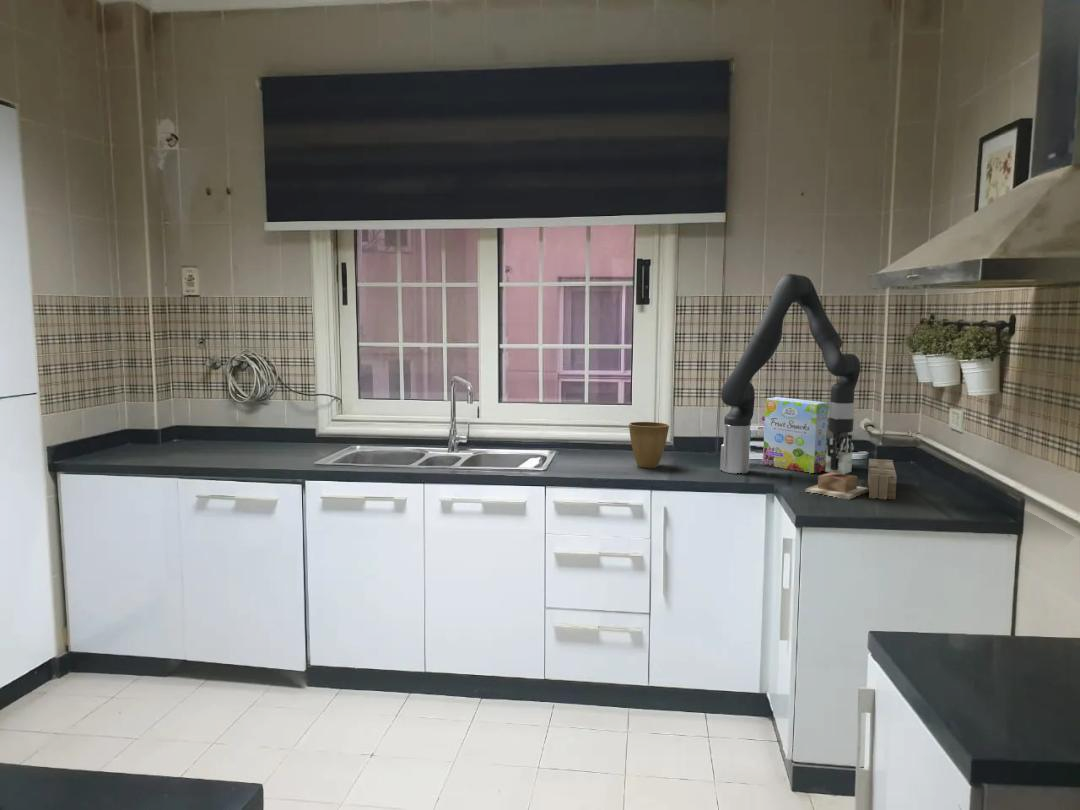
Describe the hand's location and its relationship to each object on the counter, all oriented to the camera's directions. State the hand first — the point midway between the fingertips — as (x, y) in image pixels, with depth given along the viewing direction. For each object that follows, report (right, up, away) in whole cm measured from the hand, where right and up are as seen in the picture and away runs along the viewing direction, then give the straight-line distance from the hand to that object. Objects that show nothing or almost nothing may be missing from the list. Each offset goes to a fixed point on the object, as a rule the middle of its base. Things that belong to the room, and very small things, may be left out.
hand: (838, 468), depth 252 cm
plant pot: (-56, -3, +41) cm, 69 cm away
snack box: (-2, -4, +40) cm, 40 cm away
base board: (0, -8, +1) cm, 8 cm away
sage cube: (0, -1, 0) cm, 1 cm away
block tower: (+16, -8, +5) cm, 18 cm away
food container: (+16, -4, +40) cm, 43 cm away
